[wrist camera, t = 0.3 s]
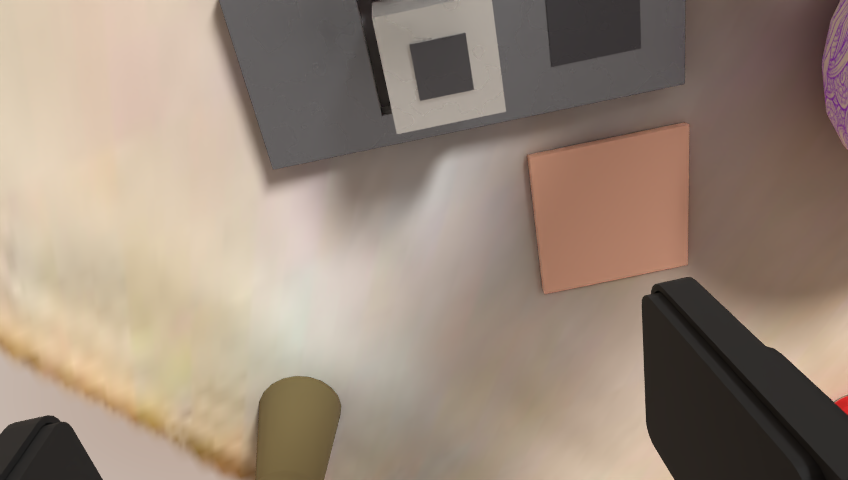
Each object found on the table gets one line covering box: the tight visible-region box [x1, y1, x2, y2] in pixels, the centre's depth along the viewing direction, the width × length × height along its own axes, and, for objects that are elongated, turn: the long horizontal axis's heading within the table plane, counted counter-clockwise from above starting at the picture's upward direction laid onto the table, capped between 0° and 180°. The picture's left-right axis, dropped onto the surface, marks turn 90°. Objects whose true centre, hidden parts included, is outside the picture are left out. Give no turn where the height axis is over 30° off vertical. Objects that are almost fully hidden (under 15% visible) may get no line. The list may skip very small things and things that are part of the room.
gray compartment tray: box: [219, 0, 685, 169], centre depth 33 cm, size 24×10×2 cm, turn 101°
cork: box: [255, 376, 341, 480], centre depth 39 cm, size 6×6×11 cm
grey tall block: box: [372, 0, 506, 134], centre depth 30 cm, size 5×5×9 cm
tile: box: [527, 122, 689, 294], centre depth 39 cm, size 10×10×1 cm
